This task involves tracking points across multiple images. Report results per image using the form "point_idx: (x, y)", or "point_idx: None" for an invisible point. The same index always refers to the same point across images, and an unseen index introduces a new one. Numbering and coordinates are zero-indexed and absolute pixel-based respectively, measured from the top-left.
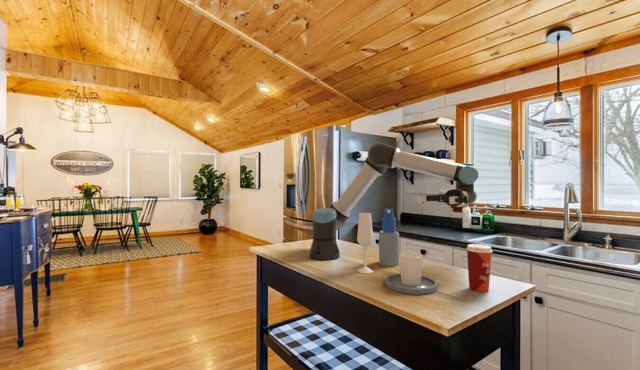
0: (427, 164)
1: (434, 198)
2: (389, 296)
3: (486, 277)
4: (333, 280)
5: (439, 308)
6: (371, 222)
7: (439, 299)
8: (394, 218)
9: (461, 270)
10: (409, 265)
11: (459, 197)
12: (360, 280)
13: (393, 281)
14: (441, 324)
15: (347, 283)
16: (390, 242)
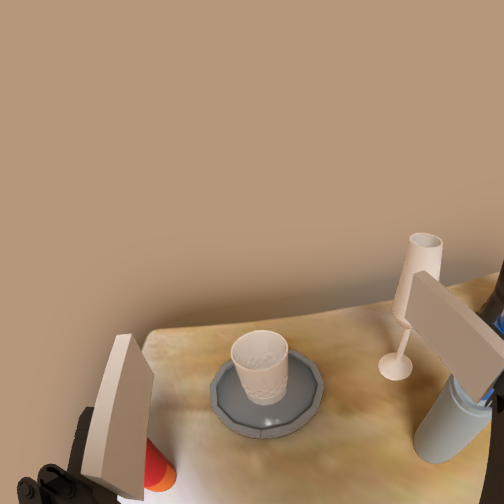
0: None
1: (499, 481)
2: None
3: None
4: (356, 307)
5: (175, 357)
6: (412, 273)
7: (189, 381)
8: None
9: None
10: (248, 348)
11: (78, 478)
12: (340, 337)
13: (292, 368)
14: (157, 330)
15: (334, 317)
16: (441, 393)
